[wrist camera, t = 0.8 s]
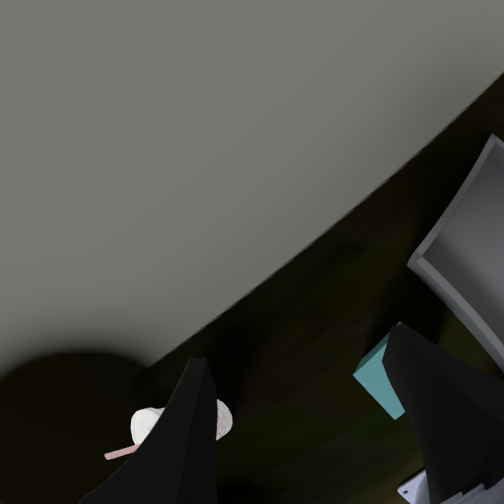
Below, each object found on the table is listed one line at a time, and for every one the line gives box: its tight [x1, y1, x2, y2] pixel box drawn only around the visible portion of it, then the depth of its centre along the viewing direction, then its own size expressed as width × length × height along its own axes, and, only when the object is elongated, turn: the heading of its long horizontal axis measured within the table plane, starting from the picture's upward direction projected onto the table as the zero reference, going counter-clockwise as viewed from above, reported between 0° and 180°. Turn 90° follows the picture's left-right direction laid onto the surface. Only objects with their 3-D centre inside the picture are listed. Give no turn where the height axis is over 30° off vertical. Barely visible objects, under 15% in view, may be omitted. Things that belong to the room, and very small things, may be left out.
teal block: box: [353, 322, 405, 419], centre depth 17 cm, size 4×4×6 cm
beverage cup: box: [105, 399, 232, 460], centre depth 20 cm, size 6×6×14 cm
